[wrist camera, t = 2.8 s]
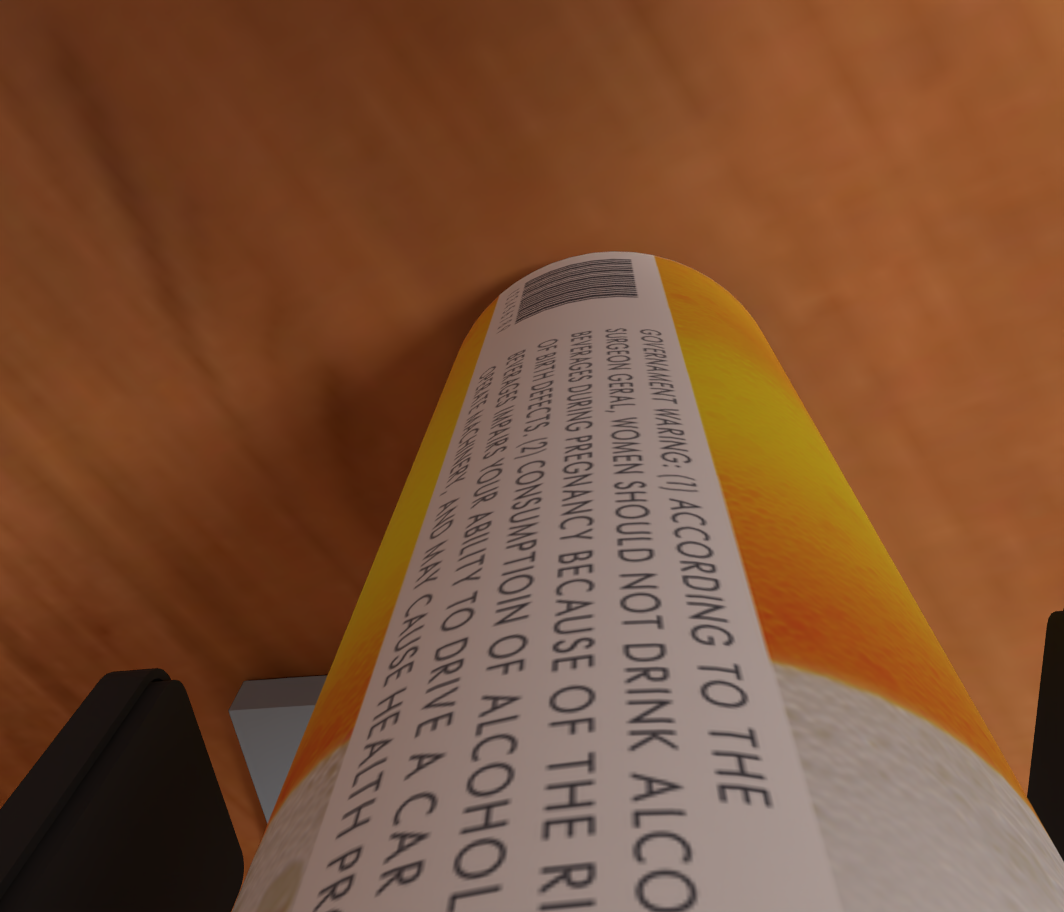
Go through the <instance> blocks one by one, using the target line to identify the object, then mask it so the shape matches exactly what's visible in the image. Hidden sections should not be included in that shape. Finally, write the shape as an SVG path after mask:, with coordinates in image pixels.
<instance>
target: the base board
mask: <svg viewBox="0 0 1064 912" xmlns="http://www.w3.org/2000/svg"><path fill="white" fill-rule="evenodd" d="M327 676H328V675H324V676H310V677H296V678H281V679H267V680H252V681H244V682H243V684H242V686H241V688H240V690H239V692H238V694H237V695H236V697H235V699H234V701H233V703H232V705H231V707H230V709H229V714H230V717H231V720H232V722H233V725H234V728H235V731H236V734H237V737H238V740H239V743H240V746H241V749H242V751H243V754H244V757H245V760H246V763H247V766H248V769H249V772H250V775H251V778H252V780H253V783H254V786H255V789H256V792H257V795H258V798H259V801H260V804H261V806H262V809H263V812H264V815H265V818H266V821H267V824H268V822H269V819H270V817H271V814H272V812H273V809H274V807H275V804H276V802H277V799H278V797H279V794H280V792H281V789H282V787H283V784H284V782H285V779H286V777H287V775H288V772H289V770H290V767H291V765H292V762H293V760H294V757H295V755H296V752H297V750H298V747H299V745H300V742H301V740H302V737H303V735H304V732H305V730H306V728H307V725H308V723H309V720H310V718H311V715H312V713H313V710H314V708H315V705H316V703H317V700H318V698H319V695H320V693H321V690H322V688H323V685H324V683H325V681H326V678H327Z"/></svg>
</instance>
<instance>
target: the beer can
mask: <svg viewBox="0 0 1064 912" xmlns="http://www.w3.org/2000/svg"><path fill="white" fill-rule="evenodd" d="M232 912H1064V862H1063V860H1062V858H1061V856H1060V855H1059V853H1058V851H1057V849H1056V848H1055V846H1054V844H1053V842H1052V840H1051V839H1050V837H1049V835H1048V833H1047V832H1046V830H1045V828H1044V826H1043V825H1042V823H1041V821H1040V819H1039V818H1038V816H1037V814H1036V812H1035V811H1034V809H1033V807H1032V805H1031V804H1030V802H1029V800H1028V798H1027V797H1026V795H1025V793H1024V791H1023V790H1022V788H1021V786H1020V784H1019V783H1018V781H1017V779H1016V777H1015V776H1014V774H1013V772H1012V770H1011V768H1010V767H1009V765H1008V763H1007V761H1006V760H1005V758H1004V756H1003V754H1002V753H1001V751H1000V749H999V747H998V746H997V744H996V742H995V740H994V739H993V737H992V735H991V733H990V732H989V730H988V728H987V726H986V725H985V723H984V721H983V719H982V718H981V716H980V714H979V712H978V711H977V709H976V707H975V705H974V704H973V702H972V700H971V698H970V696H969V695H968V693H967V691H966V689H965V688H964V686H963V684H962V682H961V681H960V679H959V677H958V675H957V674H956V672H955V670H954V668H953V667H952V665H951V663H950V661H949V660H948V658H947V656H946V654H945V653H944V651H943V649H942V647H941V646H940V644H939V642H938V640H937V639H936V637H935V635H934V633H933V632H932V630H931V628H930V626H929V624H928V623H927V621H926V619H925V617H924V616H923V614H922V612H921V610H920V609H919V607H918V605H917V603H916V602H915V600H914V598H913V596H912V595H911V593H910V591H909V589H908V588H907V586H906V584H905V582H904V581H903V579H902V577H901V575H900V574H899V572H898V570H897V568H896V567H895V565H894V563H893V561H892V560H891V558H890V556H889V554H888V552H887V551H886V549H885V547H884V545H883V544H882V542H881V540H880V538H879V537H878V535H877V533H876V531H875V530H874V528H873V526H872V524H871V523H870V521H869V519H868V517H867V516H866V514H865V512H864V510H863V509H862V507H861V505H860V503H859V502H858V500H857V498H856V496H855V495H854V493H853V491H852V489H851V488H850V486H849V484H848V482H847V480H846V479H845V477H844V475H843V473H842V472H841V470H840V468H839V466H838V465H837V463H836V461H835V459H834V458H833V456H832V454H831V452H830V451H829V449H828V447H827V445H826V444H825V442H824V440H823V438H822V437H821V435H820V433H819V431H818V430H817V428H816V426H815V424H814V423H813V421H812V419H811V417H810V416H809V414H808V412H807V410H806V408H805V407H804V405H803V403H802V401H801V400H800V398H799V396H798V394H797V393H796V391H795V389H794V387H793V386H792V384H791V382H790V380H789V379H788V377H787V375H786V373H785V372H784V370H783V368H782V366H781V365H780V363H779V361H778V359H777V358H776V356H775V354H774V352H773V351H772V349H771V347H770V345H769V344H768V342H767V340H766V338H765V336H764V335H763V333H762V332H761V330H760V328H759V327H758V325H757V324H756V322H755V320H754V319H753V318H752V316H751V315H750V314H749V313H748V311H747V310H746V309H745V308H744V307H743V305H742V304H741V303H740V302H739V301H738V300H737V299H736V298H734V297H733V296H732V295H731V294H730V293H729V292H728V291H727V290H726V289H724V288H723V287H722V286H720V285H719V284H718V283H716V282H715V281H713V280H712V279H711V278H709V277H707V276H705V275H704V274H702V273H700V272H698V271H696V270H695V269H693V268H690V267H688V266H685V265H683V264H681V263H678V262H676V261H673V260H669V259H666V258H662V257H658V256H655V255H649V254H642V253H636V252H616V251H611V252H599V253H589V254H584V255H579V256H574V257H570V258H567V259H564V260H561V261H557V262H554V263H551V264H549V265H547V266H545V267H543V268H540V269H538V270H536V271H534V272H532V273H530V274H529V275H527V276H525V277H524V278H522V279H520V280H519V281H517V282H515V283H514V284H513V285H511V286H510V287H509V288H508V289H506V290H505V291H504V292H502V293H501V294H500V295H499V296H498V297H497V298H496V299H495V300H494V301H493V302H492V303H491V304H490V305H489V306H488V307H487V308H486V309H485V310H484V311H483V313H482V314H481V315H480V316H479V318H478V319H477V320H476V322H475V323H474V324H473V326H472V327H471V329H470V331H469V332H468V334H467V336H466V337H465V339H464V341H463V343H462V345H461V348H460V350H459V352H458V354H457V357H456V359H455V361H454V364H453V366H452V369H451V371H450V374H449V376H448V379H447V381H446V384H445V386H444V389H443V391H442V394H441V396H440V399H439V401H438V404H437V406H436V408H435V411H434V413H433V416H432V418H431V421H430V423H429V426H428V428H427V431H426V433H425V436H424V438H423V441H422V443H421V446H420V448H419V451H418V453H417V455H416V458H415V460H414V463H413V465H412V468H411V470H410V473H409V475H408V478H407V480H406V483H405V485H404V488H403V490H402V493H401V495H400V498H399V500H398V502H397V505H396V507H395V510H394V512H393V515H392V517H391V520H390V522H389V525H388V527H387V530H386V532H385V535H384V537H383V540H382V542H381V544H380V547H379V549H378V552H377V554H376V557H375V559H374V562H373V564H372V567H371V569H370V572H369V574H368V577H367V579H366V582H365V584H364V587H363V589H362V591H361V594H360V596H359V599H358V601H357V604H356V606H355V609H354V611H353V614H352V616H351V619H350V621H349V624H348V626H347V629H346V631H345V634H344V636H343V638H342V641H341V643H340V646H339V648H338V651H337V653H336V656H335V658H334V661H333V663H332V666H331V668H330V671H329V673H328V676H327V678H326V681H325V683H324V685H323V688H322V690H321V693H320V695H319V698H318V700H317V703H316V705H315V708H314V710H313V713H312V715H311V718H310V720H309V723H308V725H307V728H306V730H305V732H304V735H303V737H302V740H301V742H300V745H299V747H298V750H297V752H296V755H295V757H294V760H293V762H292V765H291V767H290V770H289V772H288V775H287V777H286V779H285V782H284V784H283V787H282V789H281V792H280V794H279V797H278V799H277V802H276V804H275V807H274V809H273V812H272V814H271V817H270V819H269V822H268V824H267V826H266V829H265V831H264V834H263V836H262V839H261V841H260V844H259V846H258V849H257V851H256V854H255V856H254V859H253V861H252V864H251V866H250V869H249V871H248V873H247V876H246V878H245V881H244V883H243V886H242V888H241V891H240V893H239V896H238V898H237V901H236V903H235V906H234V908H233V911H232Z"/></svg>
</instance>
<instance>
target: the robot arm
mask: <svg viewBox="0 0 1064 912" xmlns="http://www.w3.org/2000/svg"><path fill="white" fill-rule="evenodd" d="M1027 798H1028V800H1029V802H1030V804H1031V805H1032V807H1033V809H1034V811H1035V812H1036V814H1037V816H1038V818H1039V819H1040V821H1041V823H1042V825H1043V826H1044V828H1045V830H1046V832H1047V833H1048V835H1049V837H1050V839H1051V840H1052V842H1053V844H1054V846H1055V848H1056V849H1057V851H1058V853H1059V855H1060V856H1061V858H1062V860H1063V862H1064V610H1063V611H1055V612H1053V613H1052V614H1051V615H1050V617H1049V619H1048V623H1047V630H1046V639H1045V647H1044V656H1043V665H1042V673H1041V682H1040V690H1039V699H1038V708H1037V716H1036V725H1035V734H1034V742H1033V751H1032V759H1031V768H1030V777H1029V785H1028V794H1027ZM243 873H244V861H243V855H242V851H241V848H240V845H239V842H238V839H237V836H236V833H235V831H234V828H233V825H232V822H231V819H230V816H229V813H228V810H227V807H226V805H225V802H224V799H223V796H222V793H221V790H220V787H219V784H218V781H217V779H216V776H215V773H214V770H213V767H212V764H211V761H210V758H209V755H208V753H207V750H206V747H205V744H204V741H203V738H202V735H201V732H200V730H199V727H198V724H197V721H196V718H195V715H194V712H193V709H192V706H191V704H190V701H189V698H188V695H187V692H186V690H185V688H184V686H183V684H182V683H181V682H180V681H177V680H171V679H170V677H169V675H168V674H167V673H166V672H165V671H164V670H162V669H158V668H155V669H142V670H130V671H117V672H111V673H108V674H106V675H105V676H104V677H103V678H102V679H100V681H99V682H98V683H97V685H96V686H95V687H94V688H93V690H92V691H91V692H90V694H89V695H88V696H87V698H86V699H85V700H84V701H83V703H82V704H81V705H80V707H79V708H78V709H77V710H76V712H75V713H74V714H73V716H72V717H71V718H70V720H69V721H68V722H67V723H66V725H65V726H64V727H63V729H62V730H61V731H60V733H59V734H58V735H57V736H56V738H55V739H54V740H53V742H52V743H51V744H50V746H49V747H48V748H47V749H46V751H45V752H44V753H43V755H42V756H41V757H40V759H39V760H38V761H37V762H36V764H35V765H34V766H33V768H32V769H31V770H30V771H29V773H28V774H27V775H26V777H25V778H24V779H23V781H22V782H21V783H20V784H19V786H18V787H17V788H16V790H15V791H14V792H13V794H12V795H11V796H10V797H9V799H8V800H7V801H6V803H5V804H4V805H3V807H2V808H1V809H0V912H231V911H232V908H233V906H234V903H235V901H236V898H237V896H238V893H239V891H240V888H241V885H242V880H243Z"/></svg>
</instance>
